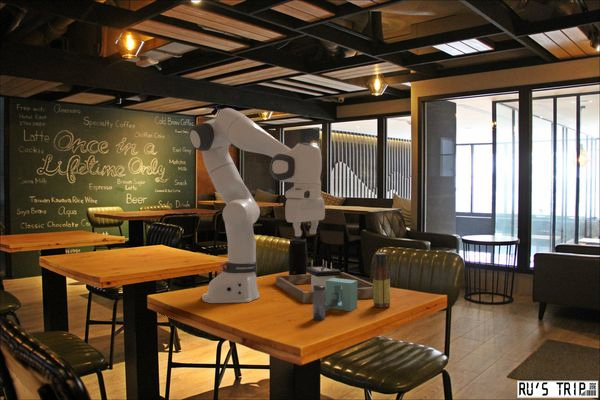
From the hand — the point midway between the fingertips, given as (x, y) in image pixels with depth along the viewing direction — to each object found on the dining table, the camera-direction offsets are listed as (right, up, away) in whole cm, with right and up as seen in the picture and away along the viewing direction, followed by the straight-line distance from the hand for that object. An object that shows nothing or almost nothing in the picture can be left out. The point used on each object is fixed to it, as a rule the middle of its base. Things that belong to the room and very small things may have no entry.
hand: (305, 235), depth 157 cm
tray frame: (+9, -27, +48) cm, 56 cm away
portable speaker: (-3, -27, +69) cm, 74 cm away
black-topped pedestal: (+8, -28, +45) cm, 54 cm away
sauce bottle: (+28, -28, +22) cm, 46 cm away
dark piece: (+7, -28, +9) cm, 31 cm away
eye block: (+13, -28, +20) cm, 37 cm away
